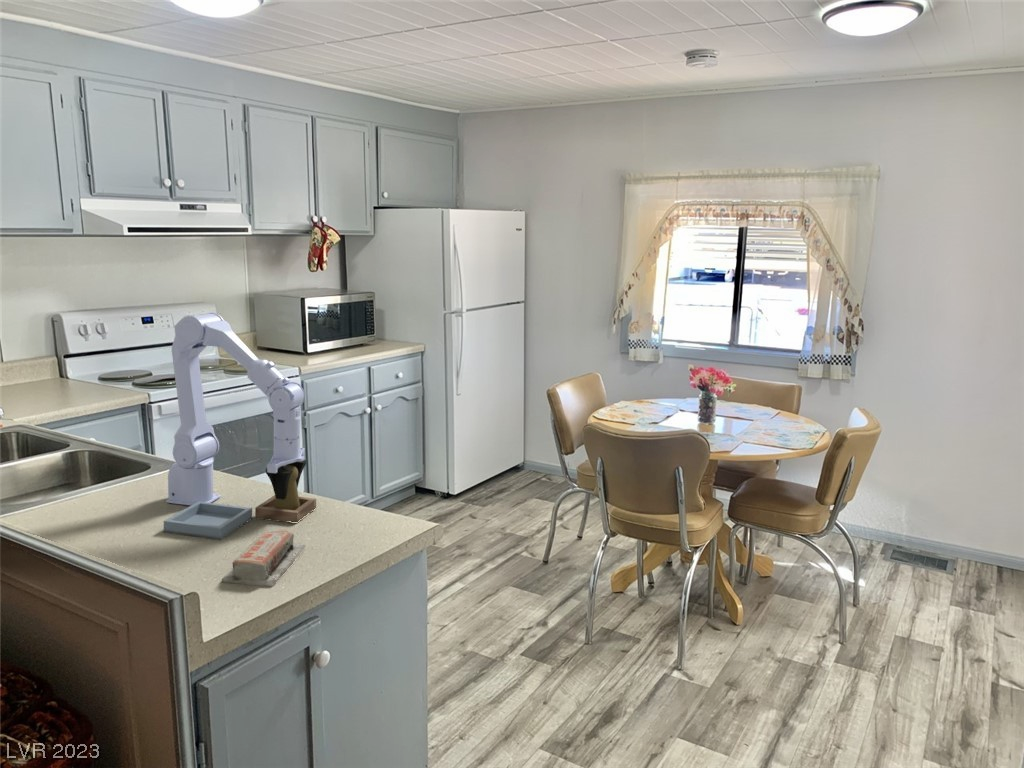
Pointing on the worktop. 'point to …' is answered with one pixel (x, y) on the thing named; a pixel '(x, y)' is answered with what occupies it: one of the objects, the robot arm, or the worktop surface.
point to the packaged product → (265, 559)
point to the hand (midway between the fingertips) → (286, 494)
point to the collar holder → (269, 512)
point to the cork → (290, 492)
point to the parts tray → (208, 520)
